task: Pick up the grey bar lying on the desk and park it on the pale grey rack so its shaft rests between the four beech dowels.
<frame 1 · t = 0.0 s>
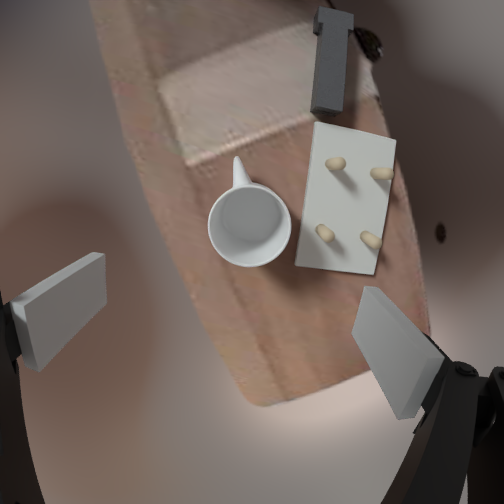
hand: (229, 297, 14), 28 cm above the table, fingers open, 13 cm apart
rack: (346, 200, 41), on the table
mug: (248, 201, 41), on the table
grey bar: (326, 73, 36), on the table
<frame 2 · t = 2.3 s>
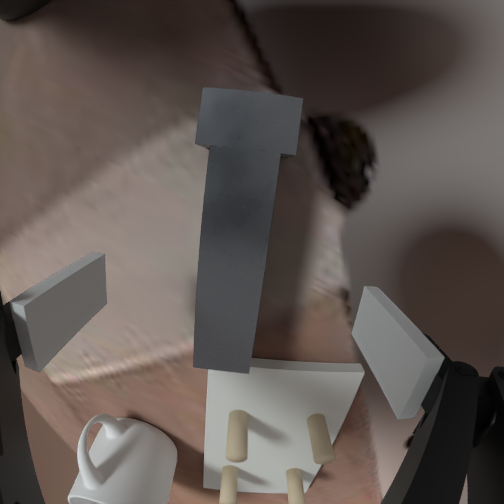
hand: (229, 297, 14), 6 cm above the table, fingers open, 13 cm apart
rack: (268, 439, 25), on the table
mug: (133, 429, 25), on the table
grey bar: (234, 253, 20), on the table
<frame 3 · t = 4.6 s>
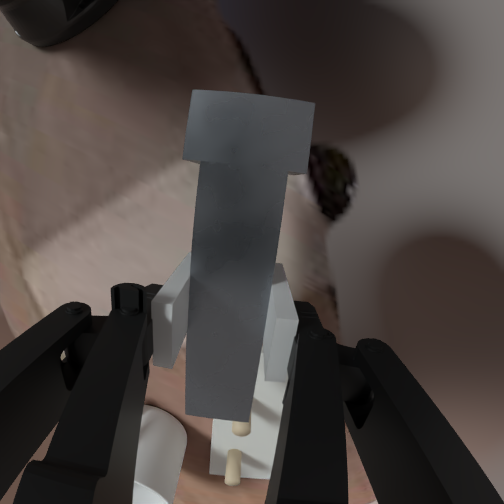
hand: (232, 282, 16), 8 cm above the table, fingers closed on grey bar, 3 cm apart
rack: (269, 423, 29), on the table
mug: (148, 416, 29), on the table
grey bar: (232, 286, 17), point 8 cm above the table, touching gripper
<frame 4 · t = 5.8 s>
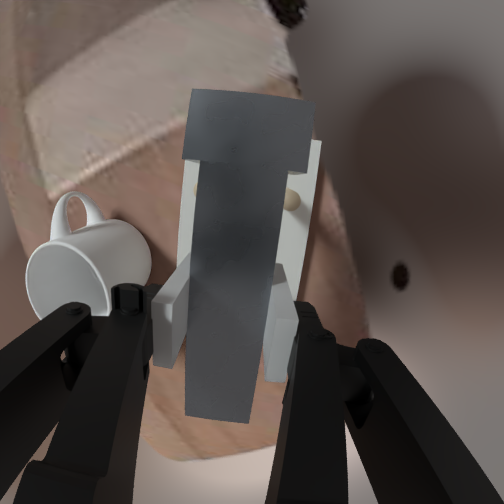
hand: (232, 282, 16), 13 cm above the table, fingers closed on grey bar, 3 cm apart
rack: (242, 236, 29), on the table
mug: (113, 241, 30), on the table
grey bar: (232, 286, 17), point 13 cm above the table, touching gripper
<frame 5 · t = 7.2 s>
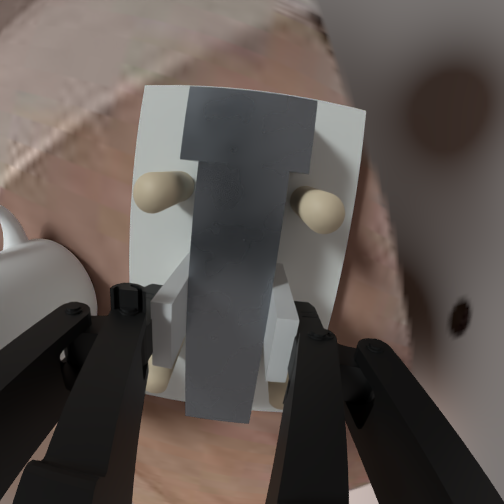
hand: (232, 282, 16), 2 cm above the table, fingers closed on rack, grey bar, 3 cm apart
rack: (233, 268, 18), on the table
mug: (47, 270, 18), on the table
grey bar: (232, 286, 17), point 1 cm above the table, touching gripper, rack
when the fingers open (2 cm above the table, at t = 8.1 s): grey bar stays where it is, resting on rack.
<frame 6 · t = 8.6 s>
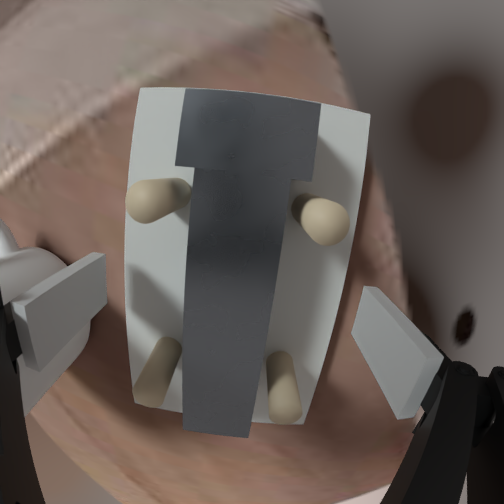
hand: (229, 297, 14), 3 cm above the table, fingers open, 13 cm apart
rack: (232, 278, 17), on the table
mug: (41, 278, 17), on the table, touching hand
grey bar: (231, 297, 16), point 1 cm above the table, touching rack
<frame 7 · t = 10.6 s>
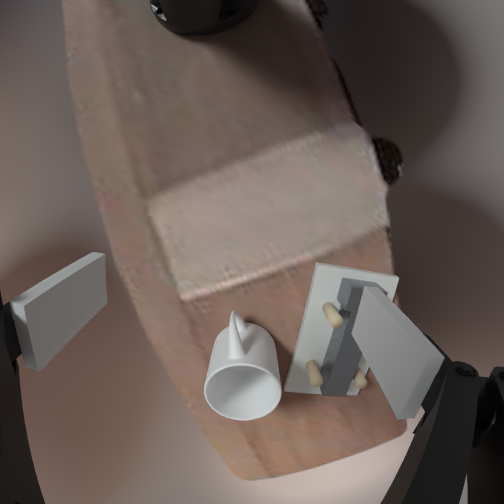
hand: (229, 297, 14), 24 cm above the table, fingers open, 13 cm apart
rack: (339, 335, 41), on the table
mug: (242, 336, 41), on the table
grey bar: (340, 343, 40), point 1 cm above the table, touching rack
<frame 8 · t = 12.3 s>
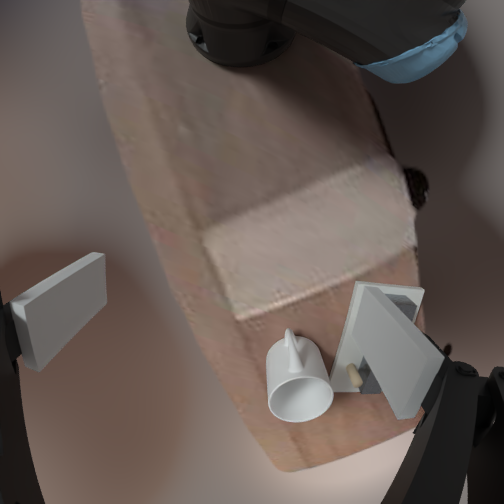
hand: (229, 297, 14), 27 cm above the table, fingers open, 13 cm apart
rack: (373, 341, 45), on the table
mug: (291, 347, 45), on the table
grey bar: (375, 348, 44), point 1 cm above the table, touching rack
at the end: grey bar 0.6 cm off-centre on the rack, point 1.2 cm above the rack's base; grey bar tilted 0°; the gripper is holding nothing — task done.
